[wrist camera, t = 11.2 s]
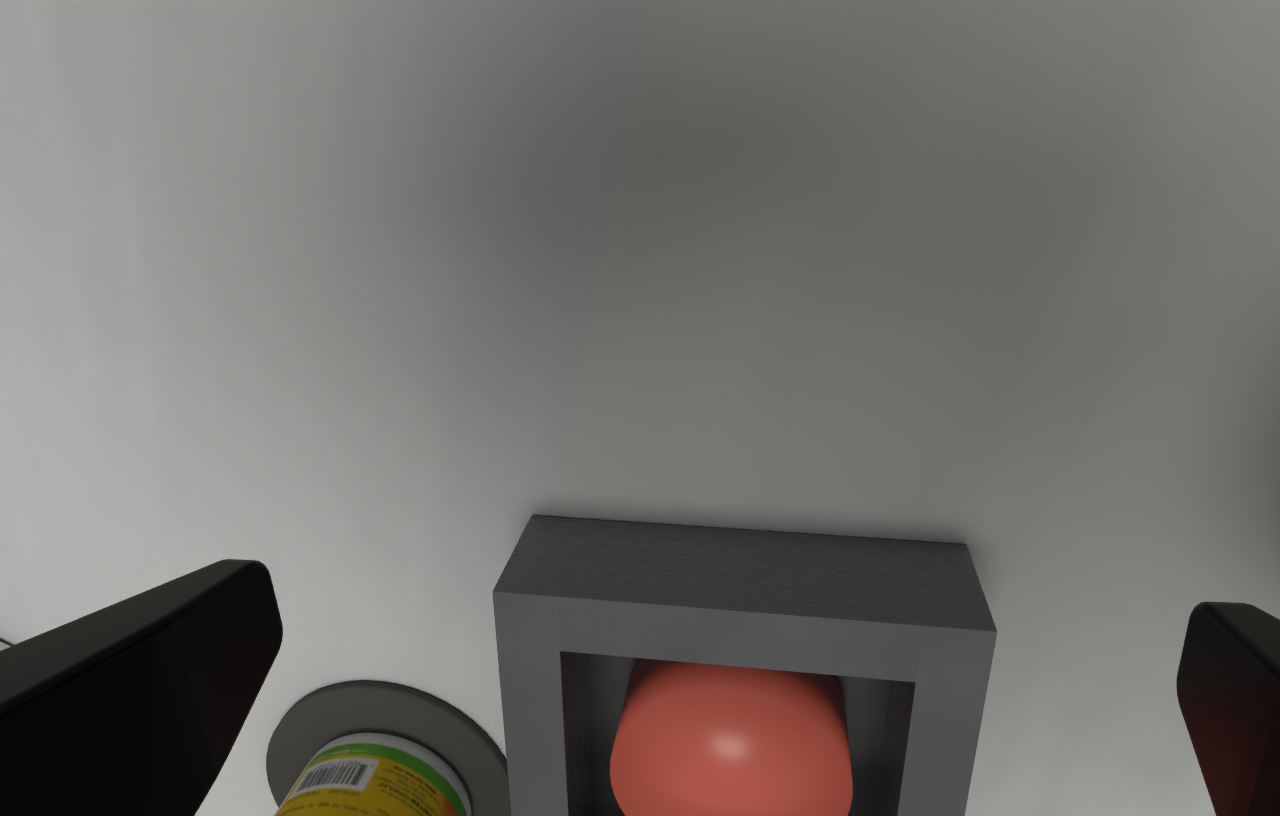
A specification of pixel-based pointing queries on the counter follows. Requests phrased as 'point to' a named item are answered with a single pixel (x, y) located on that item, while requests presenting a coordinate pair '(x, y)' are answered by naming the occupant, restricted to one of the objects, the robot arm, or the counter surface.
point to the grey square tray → (740, 648)
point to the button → (731, 743)
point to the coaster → (393, 715)
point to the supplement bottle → (376, 781)
